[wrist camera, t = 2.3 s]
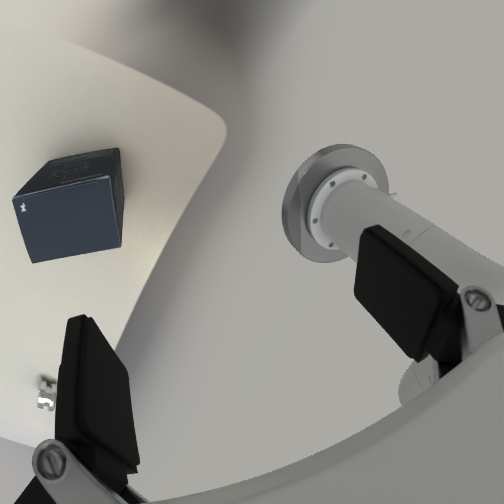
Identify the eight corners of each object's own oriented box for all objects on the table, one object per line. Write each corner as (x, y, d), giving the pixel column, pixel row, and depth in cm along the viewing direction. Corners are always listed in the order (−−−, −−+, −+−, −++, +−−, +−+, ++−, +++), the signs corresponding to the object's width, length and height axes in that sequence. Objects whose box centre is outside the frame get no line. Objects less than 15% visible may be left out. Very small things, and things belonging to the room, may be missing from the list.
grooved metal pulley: (42, 373, 35) (39, 398, 31) (58, 379, 37) (56, 404, 33) (38, 388, 36) (36, 412, 32) (53, 393, 38) (52, 416, 34)
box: (57, 211, 26) (30, 265, 18) (48, 160, 23) (9, 196, 15) (126, 199, 28) (122, 250, 20) (120, 146, 25) (110, 174, 17)
